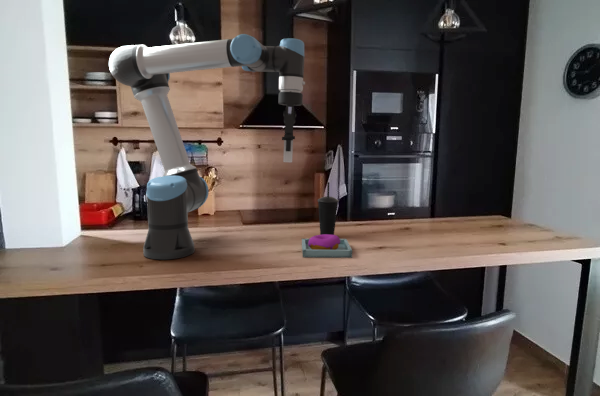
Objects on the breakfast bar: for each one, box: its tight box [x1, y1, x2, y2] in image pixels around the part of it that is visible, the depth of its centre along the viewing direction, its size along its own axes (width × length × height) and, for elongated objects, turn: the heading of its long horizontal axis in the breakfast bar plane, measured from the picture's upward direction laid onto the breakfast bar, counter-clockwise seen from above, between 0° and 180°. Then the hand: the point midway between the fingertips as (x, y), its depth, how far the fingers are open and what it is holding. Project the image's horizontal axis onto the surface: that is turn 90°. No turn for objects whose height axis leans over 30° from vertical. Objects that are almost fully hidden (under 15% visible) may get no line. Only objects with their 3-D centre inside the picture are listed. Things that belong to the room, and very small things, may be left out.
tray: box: [301, 238, 353, 259], centre depth 134 cm, size 15×14×2 cm
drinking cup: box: [317, 181, 340, 235], centre depth 150 cm, size 8×8×20 cm
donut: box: [308, 234, 341, 250], centre depth 134 cm, size 10×10×5 cm
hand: (288, 160), depth 133 cm, fingers open, 13 cm apart
